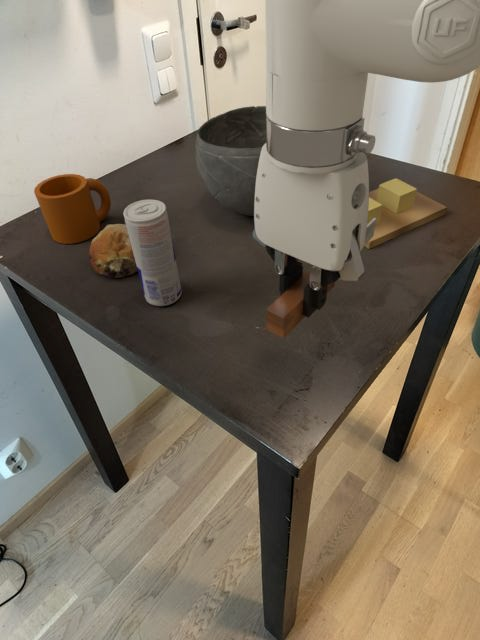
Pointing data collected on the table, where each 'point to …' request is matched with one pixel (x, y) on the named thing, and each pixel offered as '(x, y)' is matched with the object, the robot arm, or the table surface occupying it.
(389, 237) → the board
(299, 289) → the knife
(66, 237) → the mug
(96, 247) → the bread roll
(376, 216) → the butter piece
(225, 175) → the bowl
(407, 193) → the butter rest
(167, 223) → the beverage can
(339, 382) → the table surface
